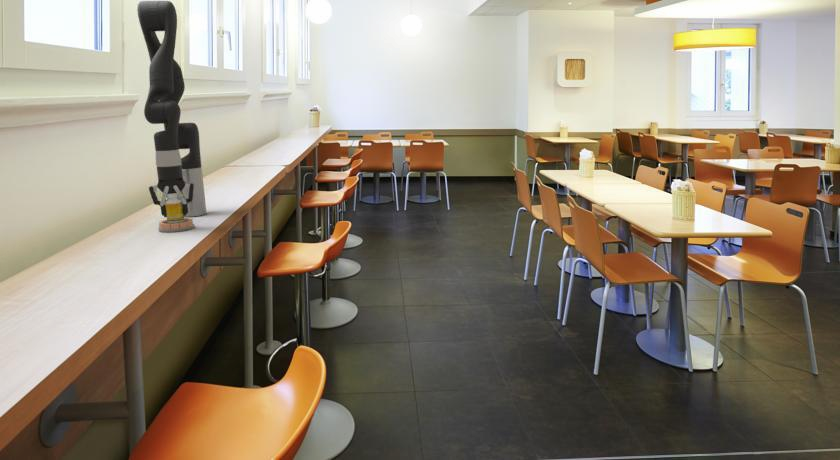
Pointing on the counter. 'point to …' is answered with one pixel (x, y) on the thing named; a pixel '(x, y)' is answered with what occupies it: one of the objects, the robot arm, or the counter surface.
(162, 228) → the ring tray
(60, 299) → the counter surface
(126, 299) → the counter surface
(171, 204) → the supplement bottle
